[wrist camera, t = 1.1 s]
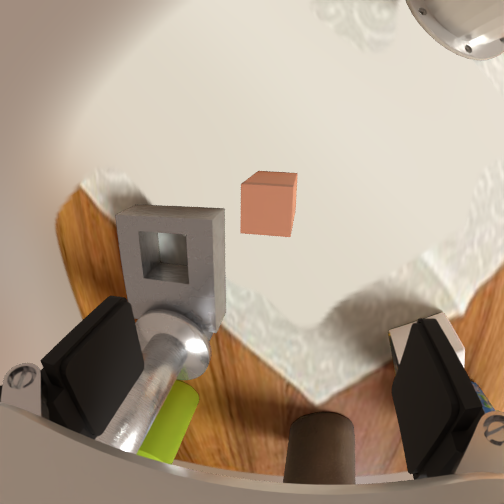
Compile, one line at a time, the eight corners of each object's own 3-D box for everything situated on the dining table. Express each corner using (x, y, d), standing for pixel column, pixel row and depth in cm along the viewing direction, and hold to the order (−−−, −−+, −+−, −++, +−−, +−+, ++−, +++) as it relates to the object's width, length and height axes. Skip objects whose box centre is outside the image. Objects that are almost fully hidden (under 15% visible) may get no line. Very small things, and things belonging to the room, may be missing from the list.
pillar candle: (291, 410, 39) (277, 503, 25) (360, 411, 37) (364, 505, 24) (288, 444, 43) (275, 524, 29) (348, 446, 41) (346, 526, 27)
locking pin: (258, 170, 28) (241, 184, 21) (297, 173, 28) (293, 187, 21) (257, 208, 30) (240, 233, 23) (295, 211, 29) (290, 237, 22)
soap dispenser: (194, 414, 43) (148, 520, 25) (156, 390, 43) (98, 493, 24) (212, 399, 41) (165, 518, 23) (171, 373, 40) (107, 488, 22)
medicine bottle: (387, 329, 32) (408, 409, 21) (444, 310, 30) (483, 382, 19) (394, 371, 34) (410, 448, 23) (446, 354, 32) (475, 425, 21)
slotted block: (135, 204, 32) (-35, 304, 12) (224, 208, 30) (78, 354, 10) (154, 343, 39) (66, 473, 19) (227, 356, 37) (164, 515, 17)
